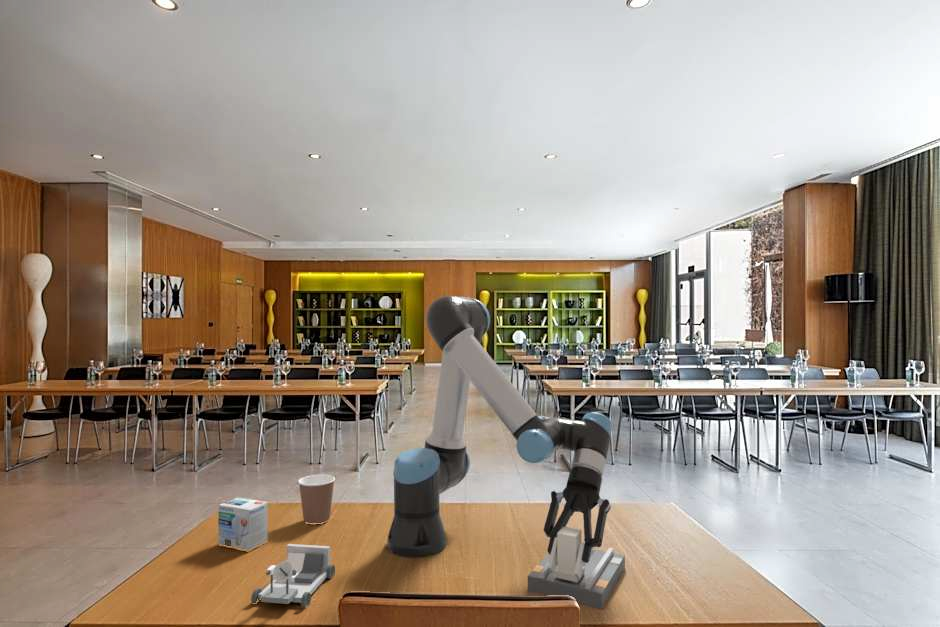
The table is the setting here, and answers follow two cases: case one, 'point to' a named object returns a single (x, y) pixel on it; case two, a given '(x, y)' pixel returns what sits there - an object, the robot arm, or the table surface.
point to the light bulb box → (242, 523)
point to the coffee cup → (316, 497)
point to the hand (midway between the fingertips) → (563, 573)
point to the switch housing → (582, 578)
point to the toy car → (297, 575)
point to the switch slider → (568, 553)
